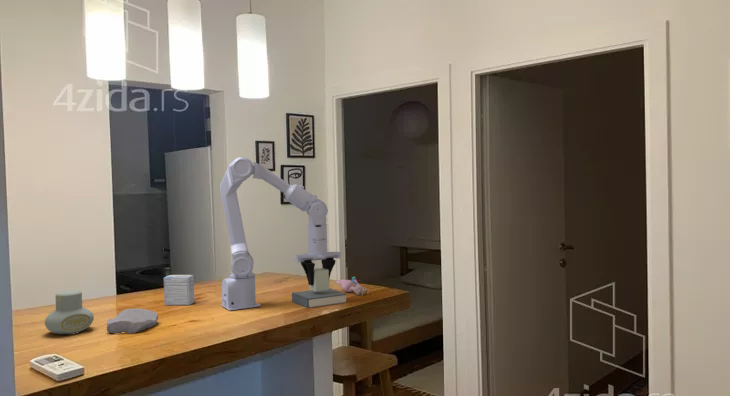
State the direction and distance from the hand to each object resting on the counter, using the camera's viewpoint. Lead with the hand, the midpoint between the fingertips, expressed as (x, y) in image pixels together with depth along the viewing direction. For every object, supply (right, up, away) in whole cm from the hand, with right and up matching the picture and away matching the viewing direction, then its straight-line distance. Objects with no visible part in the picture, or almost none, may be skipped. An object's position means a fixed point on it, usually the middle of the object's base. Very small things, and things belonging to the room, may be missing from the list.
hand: (318, 283), depth 173 cm
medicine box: (-43, -7, +1) cm, 43 cm away
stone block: (-45, -8, -26) cm, 53 cm away
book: (0, -6, 0) cm, 6 cm away
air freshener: (-60, -8, -29) cm, 68 cm away
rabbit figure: (+9, -5, +14) cm, 18 cm away
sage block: (0, -2, 0) cm, 2 cm away
